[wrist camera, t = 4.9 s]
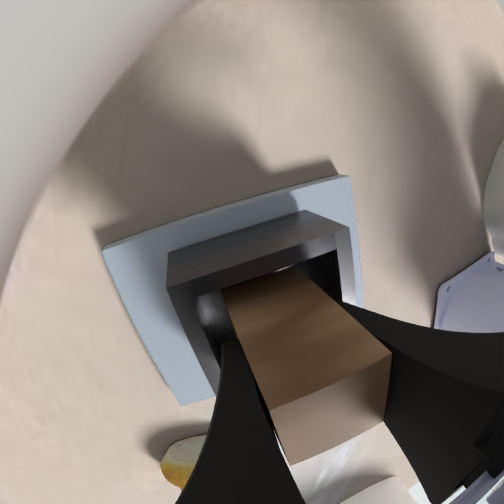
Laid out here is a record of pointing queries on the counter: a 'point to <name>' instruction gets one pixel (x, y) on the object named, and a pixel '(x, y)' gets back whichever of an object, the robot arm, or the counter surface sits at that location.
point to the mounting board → (196, 230)
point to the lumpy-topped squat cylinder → (495, 201)
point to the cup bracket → (253, 274)
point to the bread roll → (182, 460)
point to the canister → (383, 494)
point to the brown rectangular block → (309, 362)
